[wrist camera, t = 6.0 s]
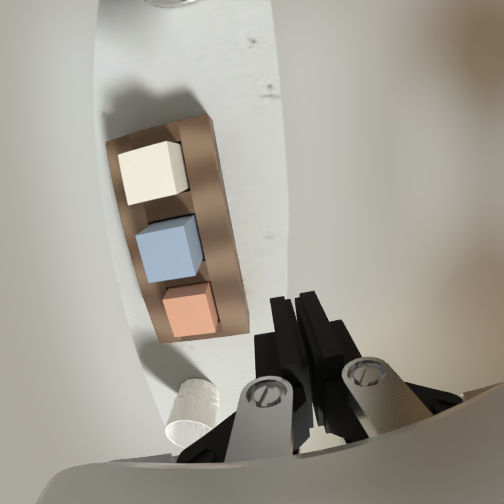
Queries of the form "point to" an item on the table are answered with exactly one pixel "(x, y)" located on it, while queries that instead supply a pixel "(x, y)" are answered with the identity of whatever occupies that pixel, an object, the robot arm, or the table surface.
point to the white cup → (193, 412)
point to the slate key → (170, 249)
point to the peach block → (191, 309)
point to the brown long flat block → (183, 204)
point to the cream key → (153, 172)
